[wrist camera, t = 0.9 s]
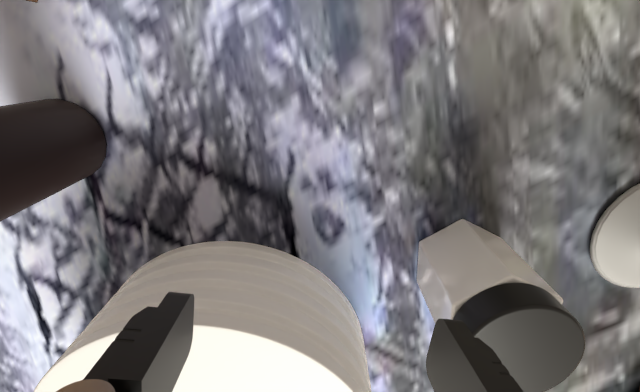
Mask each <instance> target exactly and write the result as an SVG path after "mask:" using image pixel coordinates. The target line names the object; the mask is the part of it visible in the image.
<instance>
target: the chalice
mask: <svg viewBox="0 0 640 392" xmlns="http://www.w3.org/2000/svg"><path fill="white" fill-rule="evenodd" d="M590 255H591V261H592V263H593V265H594V268H595V270H596V271H597V272H598V273H599V274H600V275H601V277H602V278H604V279H606V280H607V281H609V282H610V283H612V284H615V285H619V286H622V287H630V288H640V183H639V184H637V185H635V186H633V187H632V188H630V189H629V190H627V191H626V192H625V193H623V194H622V195H621V196H619V197H618V198H617V199H616V200H615V201H614V202H613V203H612V204H611V205H610V206H609V207H608V208H607V209H606V211H605V212H604V213H603V215H602V216H601V218H600V219H599V221H598V222H597V224H596V227H595V229H594V231H593V234H592V238H591V244H590Z"/></svg>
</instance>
